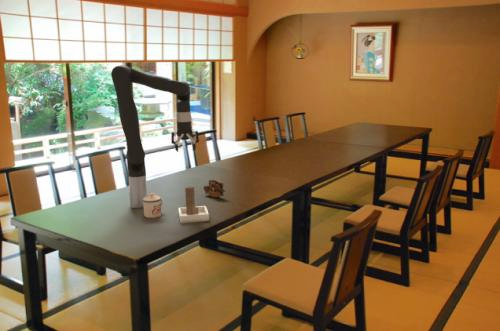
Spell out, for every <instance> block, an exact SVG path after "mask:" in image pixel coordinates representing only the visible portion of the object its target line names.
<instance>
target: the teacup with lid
mask: <svg viewBox="0 0 500 331" xmlns="http://www.w3.org/2000/svg"><path fill="white" fill-rule="evenodd" d="M143 204H144V208H143V215H144V217H145V218H148V219H149V218H150V219H152V218H153V219H154V218H158V217H161V215H162V205H163V200H162V197H160V196H159V195H156V194H155V193H154V192H150V193H149V195H148V194H147V197H144V198H143Z"/></svg>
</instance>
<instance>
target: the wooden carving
mask: <svg viewBox="0 0 500 331" xmlns="http://www.w3.org/2000/svg"><path fill="white" fill-rule="evenodd" d="M203 190H204V194H205V195H209V196H210V197H211V198H221V197H224V196H225V194H224V192H225V193H226V192H227V190H226V189H224V182H222V181H221V180H219V179H210V180H208V185H205V186H203Z"/></svg>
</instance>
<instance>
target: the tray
mask: <svg viewBox="0 0 500 331" xmlns="http://www.w3.org/2000/svg"><path fill="white" fill-rule="evenodd" d="M195 207H198V214H194V215H187V212H186V206H185V207H184V206H183V207H178V211H177V212H178V217H179V222H180V224H184V223H197V222H198V223H199V222H200V223H201V222H209V221H210V214H209V212H208V211H209V210H208V208H207V206H206V205H198V206H197V205H195Z"/></svg>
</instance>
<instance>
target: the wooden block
mask: <svg viewBox="0 0 500 331" xmlns="http://www.w3.org/2000/svg"><path fill="white" fill-rule="evenodd" d="M195 197H196V196H195V186H187V187H185V207H186V212H187V215H194V214H198V207H196V201H195Z"/></svg>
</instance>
